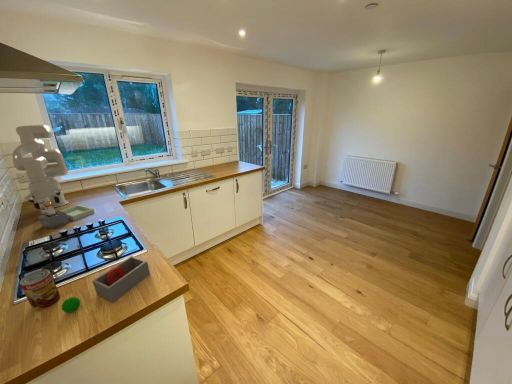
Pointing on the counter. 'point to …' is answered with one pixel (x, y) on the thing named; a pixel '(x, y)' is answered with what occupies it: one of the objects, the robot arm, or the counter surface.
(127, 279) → the grey open box
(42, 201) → the plastic bottle
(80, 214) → the tray
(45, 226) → the hitch block
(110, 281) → the red rounded piece
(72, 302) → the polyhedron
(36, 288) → the canned food
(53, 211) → the hitch pin
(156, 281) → the counter surface
